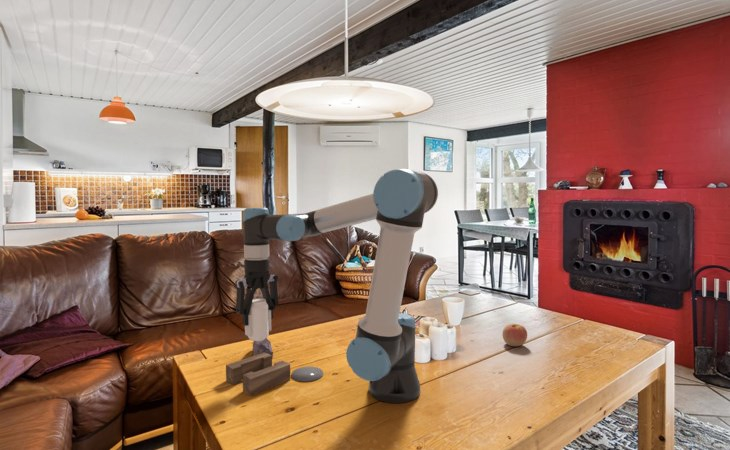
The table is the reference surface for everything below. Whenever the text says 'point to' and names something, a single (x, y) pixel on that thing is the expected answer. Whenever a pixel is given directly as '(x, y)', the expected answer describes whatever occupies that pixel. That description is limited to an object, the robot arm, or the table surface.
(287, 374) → the notched wooden bars
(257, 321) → the beverage can
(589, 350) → the table surface
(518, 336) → the apple
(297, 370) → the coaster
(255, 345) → the stone
